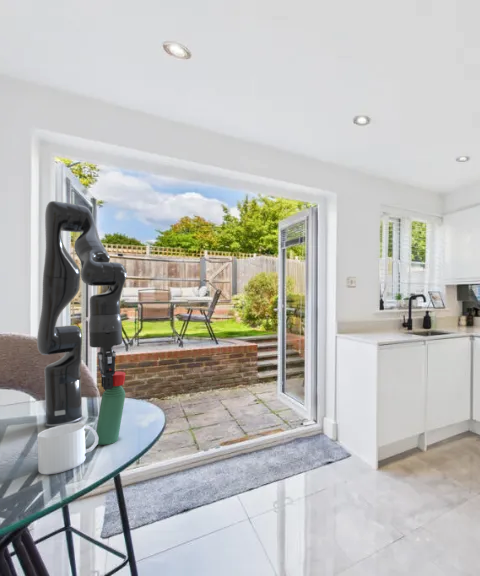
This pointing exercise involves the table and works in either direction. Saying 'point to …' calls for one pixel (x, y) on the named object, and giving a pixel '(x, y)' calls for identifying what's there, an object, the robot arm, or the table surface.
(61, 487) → the table surface
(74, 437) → the mug
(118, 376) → the cap
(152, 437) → the table surface
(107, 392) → the bottle
